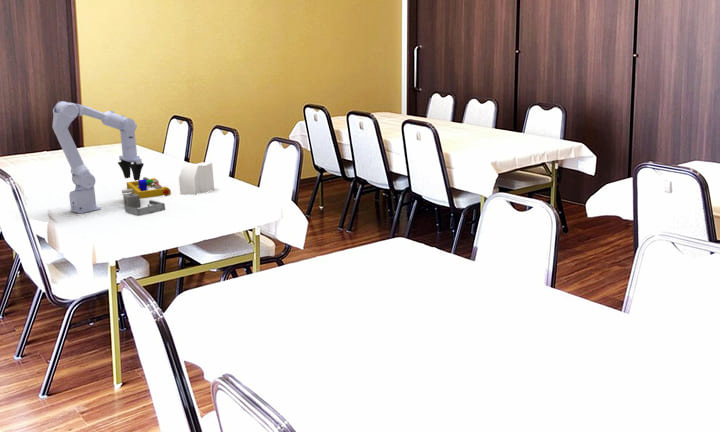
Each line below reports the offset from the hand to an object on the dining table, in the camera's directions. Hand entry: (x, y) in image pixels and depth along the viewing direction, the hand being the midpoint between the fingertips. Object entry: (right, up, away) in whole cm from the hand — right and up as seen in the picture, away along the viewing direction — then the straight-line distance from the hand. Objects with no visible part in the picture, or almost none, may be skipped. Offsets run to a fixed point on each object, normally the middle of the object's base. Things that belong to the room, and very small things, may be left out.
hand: (132, 179), depth 326 cm
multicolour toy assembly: (-1, -5, +21) cm, 21 cm away
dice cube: (+2, -12, -8) cm, 15 cm away
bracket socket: (+9, -13, -14) cm, 22 cm away
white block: (+24, -5, +16) cm, 29 cm away
